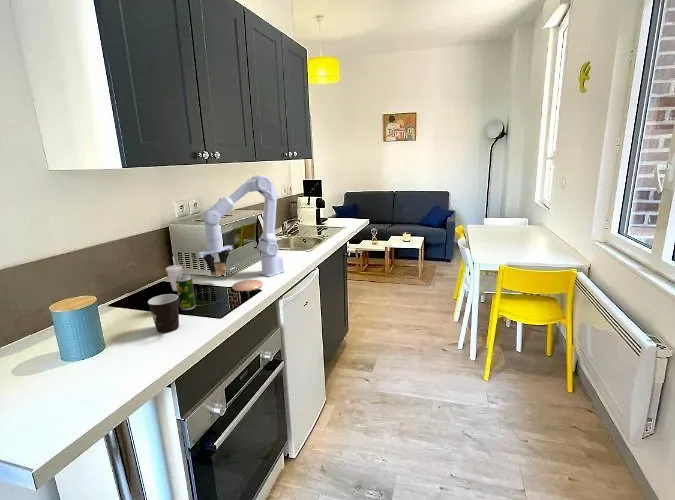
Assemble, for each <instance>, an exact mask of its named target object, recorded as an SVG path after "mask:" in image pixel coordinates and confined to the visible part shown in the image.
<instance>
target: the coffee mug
mask: <svg viewBox="0 0 675 500" xmlns="http://www.w3.org/2000/svg"><path fill="white" fill-rule="evenodd" d="M147 305H148V307H149V311H150V314H151V317H152V319H153V323H154V326H155V328H156V331H157V332H158V334H168V333H171V332H172V333H173V332H174V331H177V330H178V329H179V327H180V320H179V319H180V318H179V317H180V316H179V315H180V313H179V298H178V294H174V293H167V294H165V293H164V294H160V295H157V296H153V297H151V298H150V299H148V301H147Z"/></svg>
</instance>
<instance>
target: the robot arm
mask: <svg viewBox="0 0 675 500" xmlns="http://www.w3.org/2000/svg"><path fill="white" fill-rule="evenodd" d="M253 192H258V193H259V194H260V195H261V196H262V197H263V198H264V205H263V206H264V207H263V222H262V233H261V235H260V239H259V241H258V244H257V247H258V249H259V251H260V261H261V271H260V272H258V275H262V276H265V277H269V278H270V277H272V276H277V275H279V274H281V273H284V272H285V270H284V258H283V255H282V254H281V253H280V252H279V245H278V238H277V236H276V233H275V232H276V219H277V218H276V216H277V206H278V205H277V203H278V193H277V191H276V189H275V186H274V185H273V181H272V179H270V178H269V177H268V176H267V175H258V174H256V175H253V176H252V177H251V178H248V179H247V180H246V181H245V182H244V183H243V184H241V186H239V187H238V188H237V189H236V190H235V191H234V192H233V193H231V194H230V195H229V196H228V197H225V196H224V197H220V198H219V199H218V201H217V202H216V203H215V204H213V205H211V206H209V209H206V210H205V211H204V212H203V213H202V216H201V220H202V221H203V222H204V229H205V230H204V231H205V237H206V245H207V249H205V250H203V251H200V252H197V255H198V258H200V259H203V260H204V261H205V263H206V264H207V266H208V268H209V270H210V271H211V272H215V268H214V263H215V257H214V256H213V255H216V254H217V255H218V259H219V262H222V263H225V267H227V261H228V257H229V256H230V252H229V251H232V250H233V247H232V245H231V244H230V245H224V246H223V244H222V243H223V242H222V236H221V227H220V222H221V218H223V217H224V216H226V215H227V214H228V213H229V212H230V211H231V210H232V209H234V206H235V203H237V202H238V201H239V200H240V199H241V198H242V199H243V197H244V196H246V195H247V194H248V193H253ZM211 272H210V273H211Z"/></svg>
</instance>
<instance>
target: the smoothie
mask: <svg viewBox="0 0 675 500" xmlns="http://www.w3.org/2000/svg"><path fill="white" fill-rule="evenodd" d="M172 261H173V262H172V263H173V265H169V266H167V267H165V271H166V272H167V273H166V274H167V276H168V279H169V282H170V286H171V289H172V291H173V292H177V286H176V276H178V275H182V274H183V269H184V266H183V265H181V264H176V261H175V256H172Z"/></svg>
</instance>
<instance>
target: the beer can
mask: <svg viewBox="0 0 675 500" xmlns="http://www.w3.org/2000/svg"><path fill="white" fill-rule="evenodd" d="M176 286H177V291H176V292H177V295H178V306H179V308H180V310H182V311H190V310H193V309H195V308H196V305H197V304H196V297H195V296H196V295H195V291H194V289H195V288H194V283H193V277H192V274H190V273H182V275H178V276H176Z"/></svg>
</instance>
